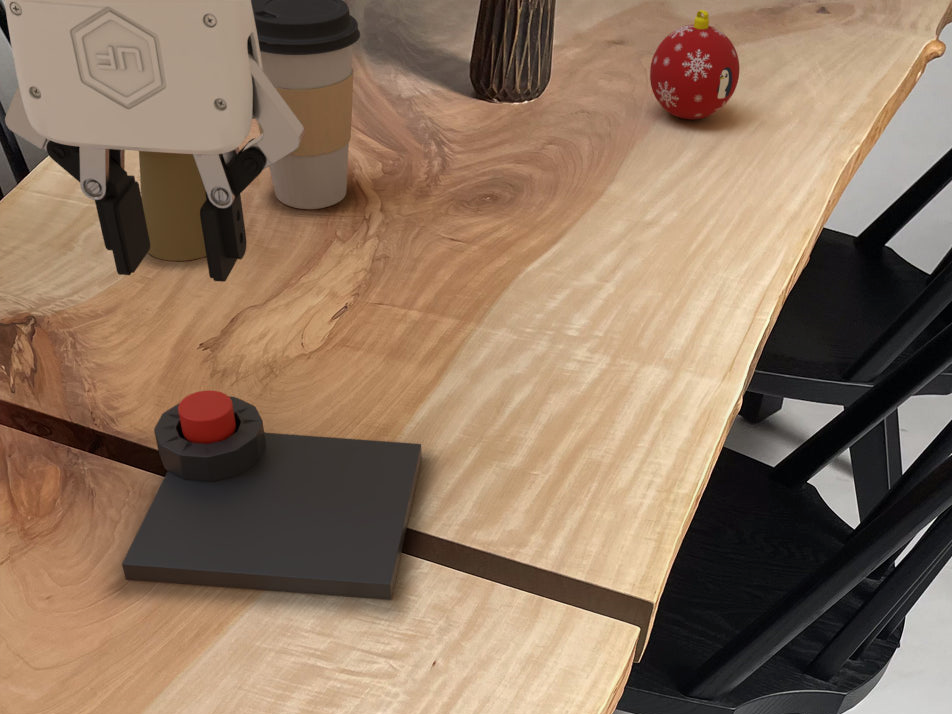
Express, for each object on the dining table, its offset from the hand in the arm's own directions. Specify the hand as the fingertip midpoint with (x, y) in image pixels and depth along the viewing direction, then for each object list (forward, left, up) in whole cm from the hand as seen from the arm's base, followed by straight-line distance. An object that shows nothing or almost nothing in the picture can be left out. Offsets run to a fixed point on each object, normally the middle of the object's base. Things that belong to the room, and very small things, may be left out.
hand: (179, 262), depth 56 cm
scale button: (0, 0, -11) cm, 11 cm away
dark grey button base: (+5, -4, -13) cm, 15 cm away
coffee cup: (-2, +37, -14) cm, 39 cm away
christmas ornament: (+31, +60, -14) cm, 69 cm away
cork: (-10, +27, -14) cm, 32 cm away
